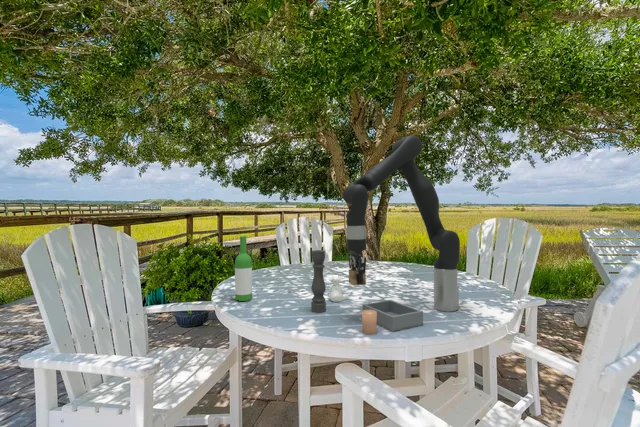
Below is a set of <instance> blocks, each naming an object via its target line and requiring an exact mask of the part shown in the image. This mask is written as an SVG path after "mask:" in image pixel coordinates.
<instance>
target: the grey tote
mask: <svg viewBox="0 0 640 427" xmlns="http://www.w3.org/2000/svg"><path fill="white" fill-rule="evenodd" d="M361 308H362V311H363V310H375V311H377V326H380V327H382V328H383V329H386V330H388V331H391V332H393V333H394V332H398V331H405V330H407V329H412V328H417V327H419V326H421V327H422V326H423V325H424V311H423V310H420V309H417V308H415V307H412V306H409V305H406V304H403V303H401V302H398V301H395V300H393V299H388V300H382V301H381V300H380V301H375V302H374V301H373V302H370V303H364V304H362V307H361ZM362 311H361V312H362Z"/></svg>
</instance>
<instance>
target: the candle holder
mask: <svg viewBox="0 0 640 427" xmlns="http://www.w3.org/2000/svg"><path fill="white" fill-rule="evenodd" d="M311 260H312V263H313V264H312V266H311V267H312V268H313V279H312V283H311V287H310V289H311V292H312V294H313V297H312V298H311V300H312V301H311V309H310V310H311V312H312V313H314V314H316V313H317V314H321V313H326V311H327V303H326V298H325V297H324V295H325V293H326V292H327V291H326V288H327V287H326V283H325V278H324V268H325V260H326V250H324V249H323V250H322V249H320V250H318V249H314V250H311Z"/></svg>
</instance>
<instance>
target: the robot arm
mask: <svg viewBox="0 0 640 427" xmlns="http://www.w3.org/2000/svg"><path fill="white" fill-rule="evenodd" d="M391 148H392V153H391V154H390V155H389V156H387V157H385V158H384V159H382V160H381V161H379V162H378V163H376V164H375V165H373V166H372V167H371V168H370V169H369V170H368V171H366V172H365V173H364V174H363V175H362V176H360V177H359V178H358V179H356V180H354V181H353V182H350V184H348V185H347V186H346V187H345V188H344V189H343V192H342V198H343V200H344V202H345V203H347V204H351V205H350V209H349V210H348V211H347V212H346V230H345V232H346V234H345V235H346V237H345V238H346V239H345V240H346V250H347V251H350V253H348V254H347V258H348V266H349V267H348V268H349V270H350V269H356V273H357V284H363V273H365V271H366V269H367V268H366V267H367V257H365V256H364V255H363V252H364V251H366V250H367V228H366V212H367V207H368V202H369V192H372V191H374V190H375V189H376V188H378V187H380V185H381V184H382V183H383V182H385V181H386V180H387V179H388V178H389V177H390V176H391V175H393V173H395V172H396V171H397V170H399V168H400V170H401V172H402V174H403V177H404V178H405V181H406V182H407V185H408V188H409V190H410V192H411V196H412V197H413V200H414V202H415V204H416V206H417V209H418V211H419V213H420V215H421V218H422V221H423V223H424V226H425V228H426V229H425V230H426V233H427V235H428V239H429V242H430V245H431V246H432V248H433V249H434V250H436V251H439V253H438V258H437V259H435V260H434V261H433V309H435V310H437V311H441V312H456V311H457V310H458V309H460V308H459V307H460V302H459V301H460V299H459V298H460V296H459V295H460V293H459V291H460V288H459V285H458V264H459V262H460V252H461V251H460V250H461V241H460V237H459V234H458V233H457V232H456V231H453V230H449V229H448V230H447V229H445V227H444V226H443V224H442V221H441V218H440V200H439V196H438V194H437V191H436V189H435V187H434V184H433V183H432V181H431V180H430V179H429V178H428V177H427V176H426V175H425V174H424V173H423V172H422V171H420V169H419V168H418V166H417V164H416V162H415V160H414V159H415V158H417V157H418V156H419V155H420V154H421V153H422V151H423V142H422V140H421V139H420V138H419V137H418V136H416V135H406V136H405V137H402V138H400V139H398V140H396V141H395V142H393V145H392V147H391ZM360 269H361V270H360Z"/></svg>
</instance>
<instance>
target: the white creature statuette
mask: <svg viewBox="0 0 640 427" xmlns="http://www.w3.org/2000/svg"><path fill="white" fill-rule="evenodd" d="M328 281H329V282H330V283H331V284H332V286H331V290H330V291H331V292H330V293H329V294H328V299H329V300H330V301H331V302H333V303H340V302H344V301H346V300H348V299H349V295H348V294H346V293H344V294H343V293H342V291H343V290H342V289H343V288H342V286H341V284H340V283H341V281H342V279H341V277H340V276H339V275H338V274H333V275H331V277H328Z"/></svg>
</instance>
